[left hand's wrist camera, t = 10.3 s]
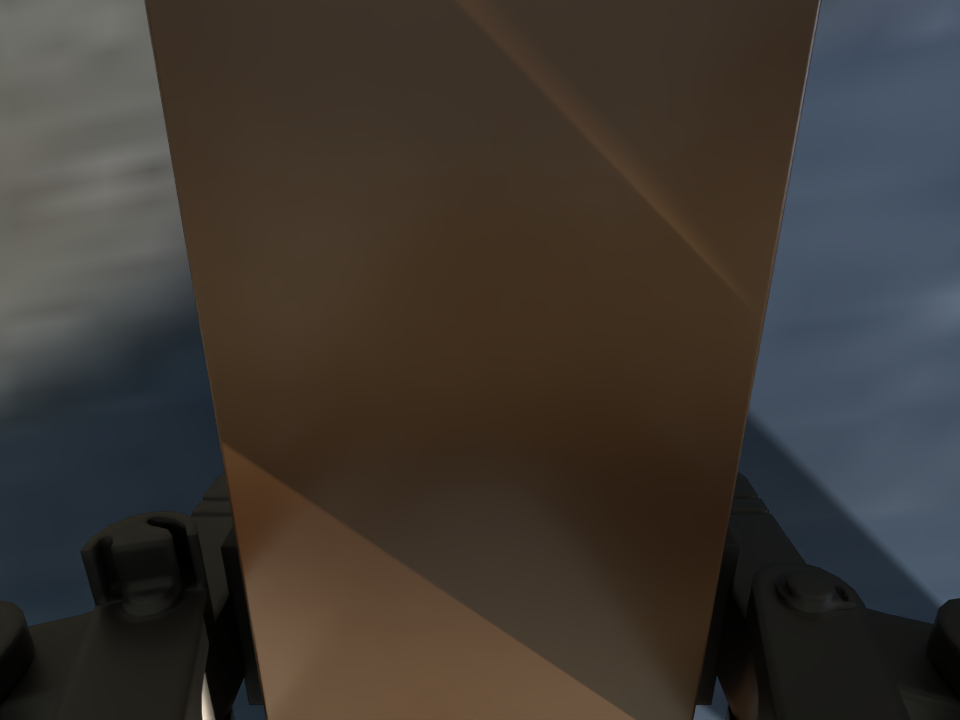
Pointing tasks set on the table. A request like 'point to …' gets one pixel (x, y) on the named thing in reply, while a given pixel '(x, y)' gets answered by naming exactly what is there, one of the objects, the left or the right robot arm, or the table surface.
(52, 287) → the table surface
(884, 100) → the table surface
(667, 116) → the bar
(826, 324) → the table surface
